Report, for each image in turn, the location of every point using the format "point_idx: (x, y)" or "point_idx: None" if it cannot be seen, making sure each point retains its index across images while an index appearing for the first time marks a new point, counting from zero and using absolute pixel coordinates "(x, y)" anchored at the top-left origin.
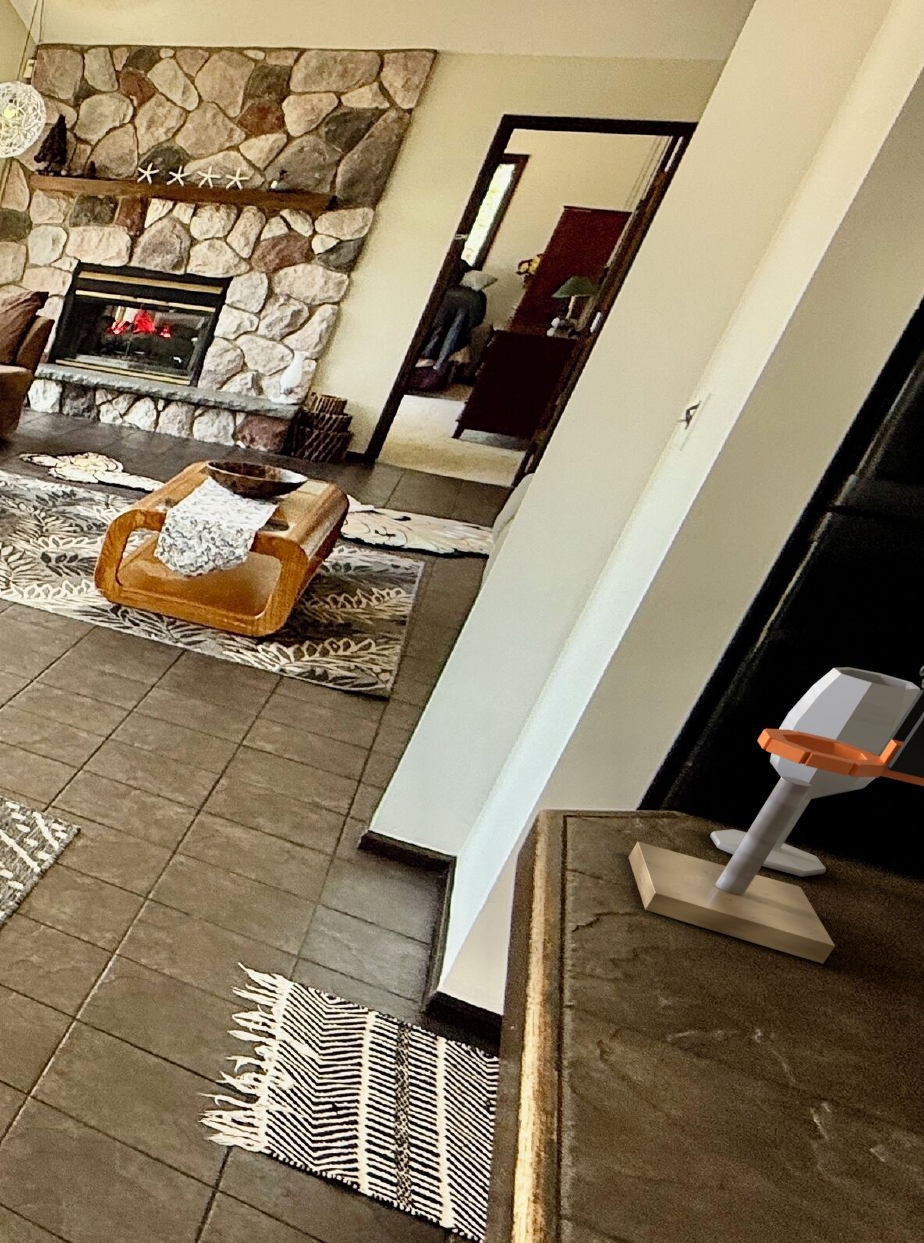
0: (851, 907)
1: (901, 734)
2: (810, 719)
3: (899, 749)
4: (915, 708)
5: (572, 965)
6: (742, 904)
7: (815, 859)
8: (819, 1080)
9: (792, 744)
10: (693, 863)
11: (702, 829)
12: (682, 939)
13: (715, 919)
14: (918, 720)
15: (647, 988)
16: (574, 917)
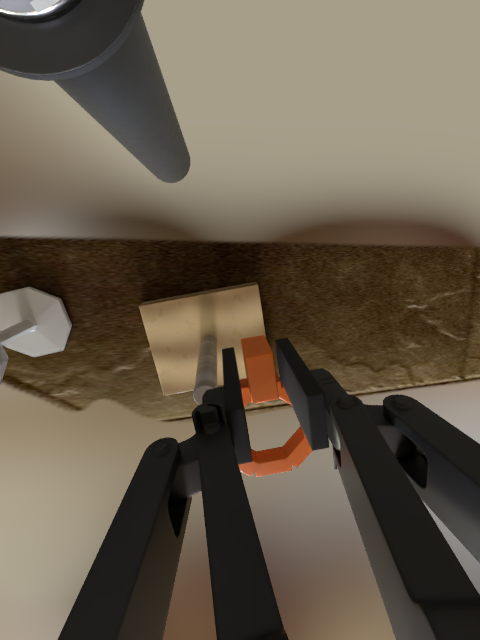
0: (93, 267)
1: (243, 403)
2: None
3: (286, 392)
4: (248, 434)
5: (404, 383)
6: (233, 334)
7: (11, 294)
8: (451, 279)
9: (300, 453)
10: (173, 364)
11: (16, 359)
12: (300, 347)
13: None
14: (299, 421)
15: (401, 353)
16: None
